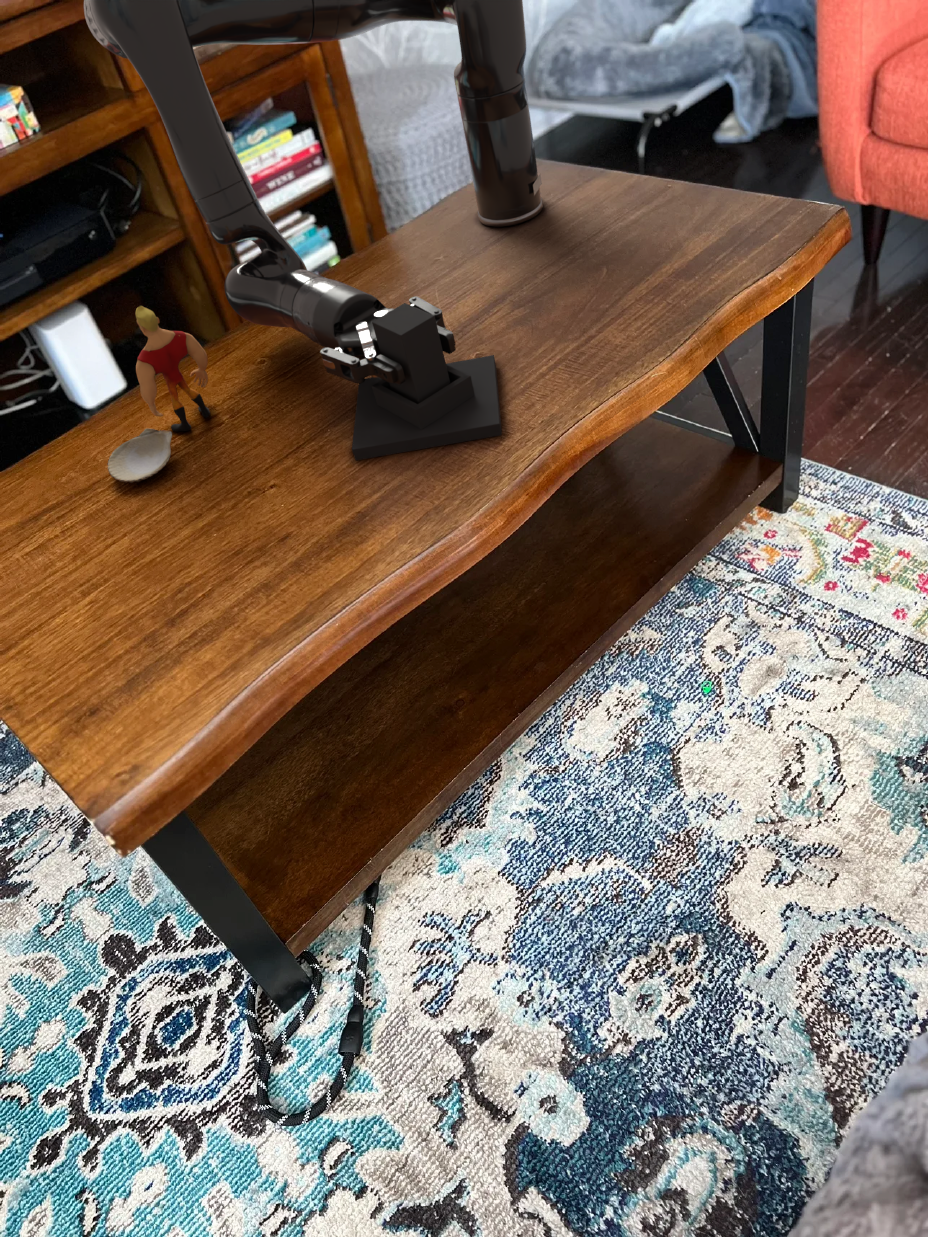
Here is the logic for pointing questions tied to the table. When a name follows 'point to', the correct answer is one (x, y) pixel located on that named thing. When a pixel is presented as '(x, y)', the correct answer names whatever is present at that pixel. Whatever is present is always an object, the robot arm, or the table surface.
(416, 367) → the black rectangular block
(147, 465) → the scallop shell
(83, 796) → the table surface
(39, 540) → the table surface
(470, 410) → the socket pad
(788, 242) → the table surface
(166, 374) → the action figure
